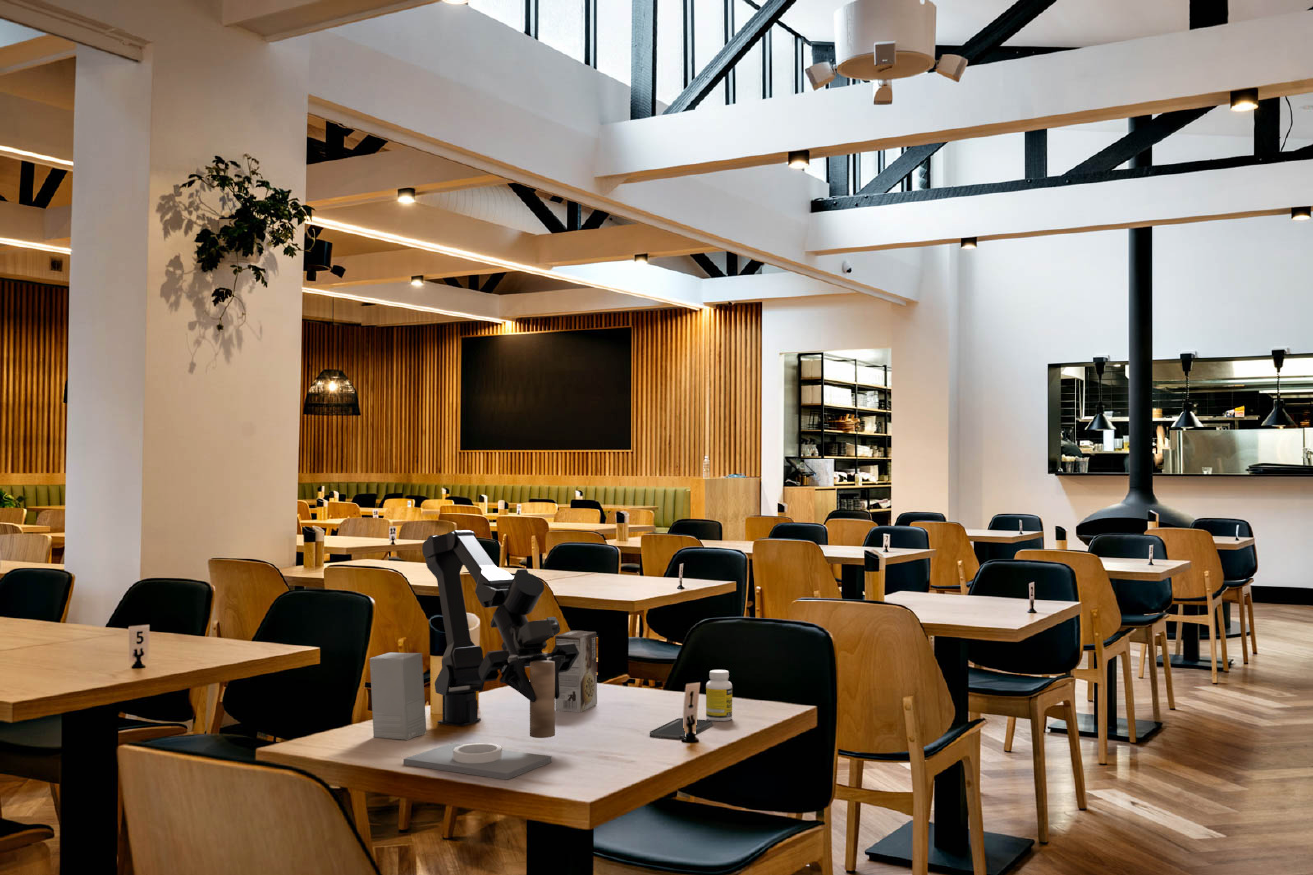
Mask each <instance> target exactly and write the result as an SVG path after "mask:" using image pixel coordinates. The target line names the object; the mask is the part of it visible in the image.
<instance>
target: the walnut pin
mask: <svg viewBox="0 0 1313 875" xmlns="http://www.w3.org/2000/svg"><path fill="white" fill-rule="evenodd" d="M529 681H530V683H531V686H532V688H533V690H534V693H535V696H536V701H535V702H531V701H530V700H529V737H531V738H535V739H546V738H547V739H549V738H552V737H555V735H556V710H555V662H554V661H548V660H541V661H532V662H530V667H529Z"/></svg>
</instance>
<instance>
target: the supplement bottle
mask: <svg viewBox="0 0 1313 875" xmlns="http://www.w3.org/2000/svg"><path fill="white" fill-rule="evenodd" d="M729 674H730V672H729V670H726V669H712V670H710V671H709V679H710V680H708V681H707V682H706V684H705V690H706V691H705V693H706V694H705V717H706V720H710V721H713V722H726V721H727V722H728V721H730V720H732V719H733V684H732V682H731V681H729V677H730V675H729Z"/></svg>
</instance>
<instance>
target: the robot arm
mask: <svg viewBox="0 0 1313 875" xmlns="http://www.w3.org/2000/svg"><path fill="white" fill-rule="evenodd" d="M421 546H422V547H421V548H422V552H421V553H422V555H423V557H424V559H425V564H426V567H427V569H428V570H429V572H431V574H432V575H433V576H434V578H435V579H436V582H437V588H438V594H439V600H440V601H439V602H440V606H441V608H440V609H441V614H442V620H443V626H444V631H445V632H444V633H445V640H446V649H445V651H444V653H443V656H442V658H441V669H440V671H439V673H438V675H437V677H436V679H435V681H434V689H435V693H436V694H439V695H441V696H442V719H440V720H437V722H436V723H437V724H439V725H449V726H454V727H455V726H456V727H465V726H468V725H471V724H474V723H478V722H481V721H482V718H481V717H479V716H478V711H479V710H478V699H477V692H483V691H484V686H485V683H488V682H492V681H497V679H498V678H499V675H500V674H501V677H500V678H499V682H500V683H501V684H506V685H507V686H509V687H510V688H512V689H513V690H515V691H516V692H518V693H520V694H521V695H522V696H524V697H525V699H527V700H529V702H530V701H531V702H535V701H536V696H535V693H534V690H533V688H532V686H531V683H530V678H529V677H528V674H527V672H526V668H530V662H532V661H541V660H548V661H554V662H555V699H558V698H559V696H560V692H559V673H560V672H567V671H568V670H570V668H571V667H572V665H573V663H574V662H575V660H576V658H577V657H578V655H579V653H580V652H579V650H578V648H577V646H576V645H575V644H574V643H565V644H556V645H555V644H554V647H553V649H552V651H551V652H543V650H545V649H546V648H547V646H548V643H547V641H548V640H550V639H553V638H555V636H557V635H559V633H560V632H561V627H560V626H561V625H560V623H559V621H558V619H557V618H556V616H549V617H546V619H540V620H539V619H538V620H531V621H529V619H528V617H527V615H529V614H531V613H532V612H533V611H534V609H535V607H536V606H537V604H538V601H540V600H539V599H540V598H541V596H542V595H543V593H544V589H545V584H544V582H543V580H541V579H540V578H539V577H538V576H536V575H535V574H533V573H529V571H528V569H527V568H521V569H519V568H518V569H517V570H516V571H515V573H514V576H513V575H512V574H511V573H510V572H509V571H507V570H504V569H502V568H500V567H497V565H496V564H495V563H494V561H493V560H492V559H491V558H490V556H489V554H488V553H487V552H486V550H485V549H484V548H483V546H482V545H481V544H480V542H479V541H478V540H477V536H476V533H475V532H474V531H472V530H469V529H463V530H461V529H459V530H452V531H448V532H447V533H445V534H436V535H435V534H434V535H428V537H427V539H426V540H424V542H423V544H422V545H421ZM463 566H464V567H465V569H466V570H467V572H468V573H469V574H470V576H471V577H472V579H473V580H474V582H475V584H476V586H475V591H474V593H475V596H476V597H477V600H478V601H479V603H480V604H481V606H482V607H483V608H485V609H486V608H488V609H489V608H496V609H495V610H494V613H492V614H493V615H492V618H491V620H490V628H492V629H493V628H497V629H498V631H499V634H500V636H501V639H502V641H503V642H502V644H501V649H498V650H490V651H487V652H486V654H485V656H484V652H483V648H482V646H480V645H476V644H475V643H474V642H473V641H472V639H471V632H470V628H469V621H468V614H467V608H466V602H465V596H464V590H463V584H462V579H461V571H462V569H463ZM499 671H500V673H499Z"/></svg>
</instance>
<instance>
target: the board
mask: <svg viewBox="0 0 1313 875" xmlns="http://www.w3.org/2000/svg"><path fill="white" fill-rule="evenodd" d="M552 760H553V758H552V755H548V754H547V755H545V754H538V753H531V752H530V753H529V752H523V751H515V750H506V749H503V747H502V746H501V745H499V744H496V743H491V742H490V743H489V742H482V743H481V742H480V743H479V742H477V743H476V742H475V743H467V744H463V743H462V744H460V743H453V742H452V743H451V742H450V743H448V744H444V745H441V746H439V747H436V748H432V749H429V750H426V751H423V752H420V753H416V754H414V755H411V756H407V757H405V758H403V766H404V765H405V766H412V767H417V768H425V769H426V768H427V769H433V770H438V771H446V772H452V773H460V774H466V775H473V776H481V777H485V778H493V779H501V780H505V781H506V780H509V779H512V778H515V777H517V776H520V775H522V774H525V773H527V772H530V771H532V770H535V769H538V768H539V767H543V766H546V765H548V764H551V763H552Z"/></svg>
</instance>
